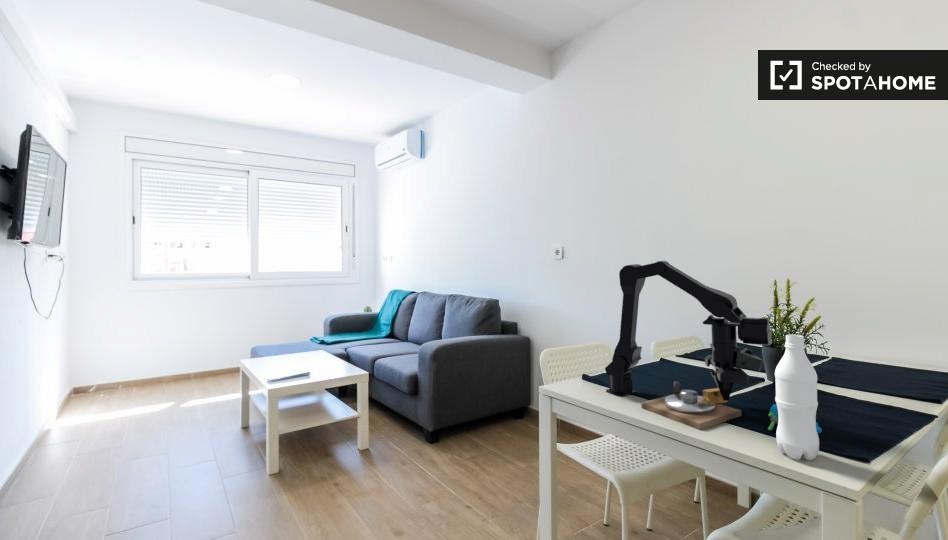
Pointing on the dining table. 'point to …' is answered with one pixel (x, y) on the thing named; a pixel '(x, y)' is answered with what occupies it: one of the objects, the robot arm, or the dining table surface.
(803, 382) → the water bottle
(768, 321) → the robot arm
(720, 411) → the base board
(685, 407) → the flange
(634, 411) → the dining table surface
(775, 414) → the green blue toy figure
